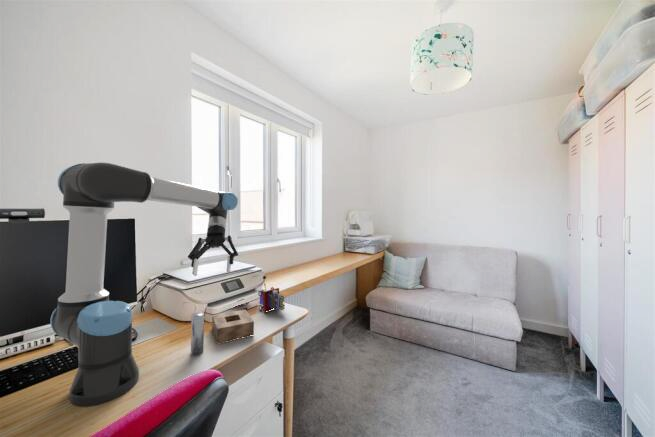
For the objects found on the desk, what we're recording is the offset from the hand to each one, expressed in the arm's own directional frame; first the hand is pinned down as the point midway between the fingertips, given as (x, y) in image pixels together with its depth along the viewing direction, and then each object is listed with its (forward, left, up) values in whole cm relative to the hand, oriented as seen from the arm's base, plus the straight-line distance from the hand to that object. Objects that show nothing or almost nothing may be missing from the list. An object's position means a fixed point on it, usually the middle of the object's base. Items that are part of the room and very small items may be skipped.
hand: (211, 273), depth 107 cm
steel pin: (-6, -14, -25) cm, 29 cm away
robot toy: (+30, +11, -25) cm, 41 cm away
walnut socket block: (+8, -4, -25) cm, 26 cm away
